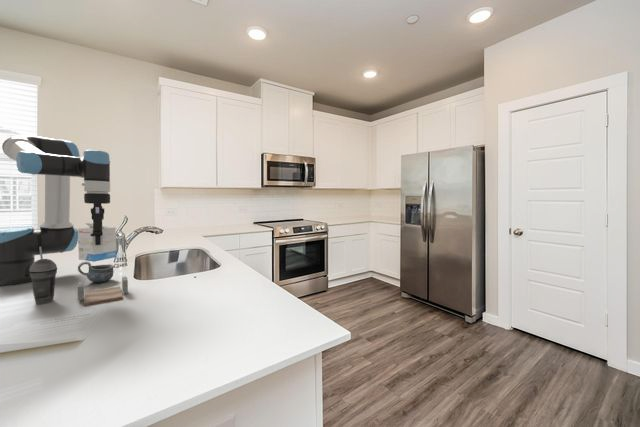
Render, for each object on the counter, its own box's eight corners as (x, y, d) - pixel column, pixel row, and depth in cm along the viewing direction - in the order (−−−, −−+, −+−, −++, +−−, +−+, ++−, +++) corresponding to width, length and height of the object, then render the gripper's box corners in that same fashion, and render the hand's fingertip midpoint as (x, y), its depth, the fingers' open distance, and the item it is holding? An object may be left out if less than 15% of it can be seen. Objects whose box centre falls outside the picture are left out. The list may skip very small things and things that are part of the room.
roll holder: (79, 294, 107) (78, 279, 107) (125, 287, 116) (125, 273, 116) (77, 307, 96) (76, 290, 95) (128, 298, 105) (128, 282, 105)
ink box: (117, 257, 106) (116, 222, 105) (92, 262, 98) (92, 224, 97) (102, 255, 109) (102, 221, 108) (77, 259, 101) (76, 223, 100)
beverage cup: (40, 306, 95) (38, 249, 94) (24, 304, 97) (22, 248, 96) (63, 299, 102) (62, 245, 101) (48, 297, 104) (46, 244, 103)
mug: (118, 281, 125) (117, 259, 125) (83, 288, 115) (83, 264, 114) (109, 277, 130) (108, 256, 130) (75, 284, 120) (74, 261, 119)
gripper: (85, 192, 109) (87, 247, 111) (81, 192, 91) (83, 258, 92) (109, 193, 114) (110, 245, 115) (110, 193, 95) (111, 255, 97)
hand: (98, 251), depth 104 cm, fingers closed on ink box, 11 cm apart
